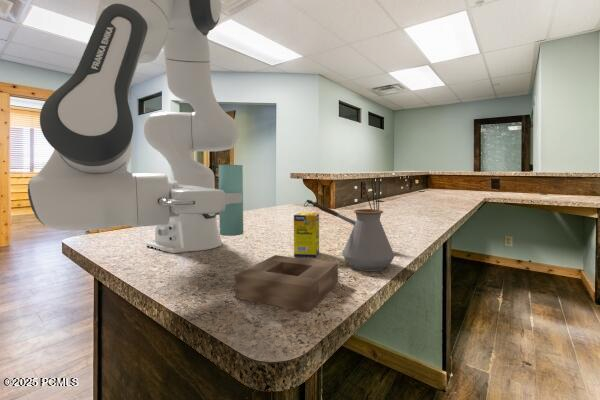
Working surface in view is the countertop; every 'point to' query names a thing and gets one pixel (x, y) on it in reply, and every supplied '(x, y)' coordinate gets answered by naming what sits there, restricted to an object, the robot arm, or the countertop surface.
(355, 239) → the coffee pot
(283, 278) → the socket block
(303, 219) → the supplement box
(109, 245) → the countertop surface
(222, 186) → the peg
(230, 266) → the countertop surface
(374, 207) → the reed diffuser
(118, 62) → the robot arm
